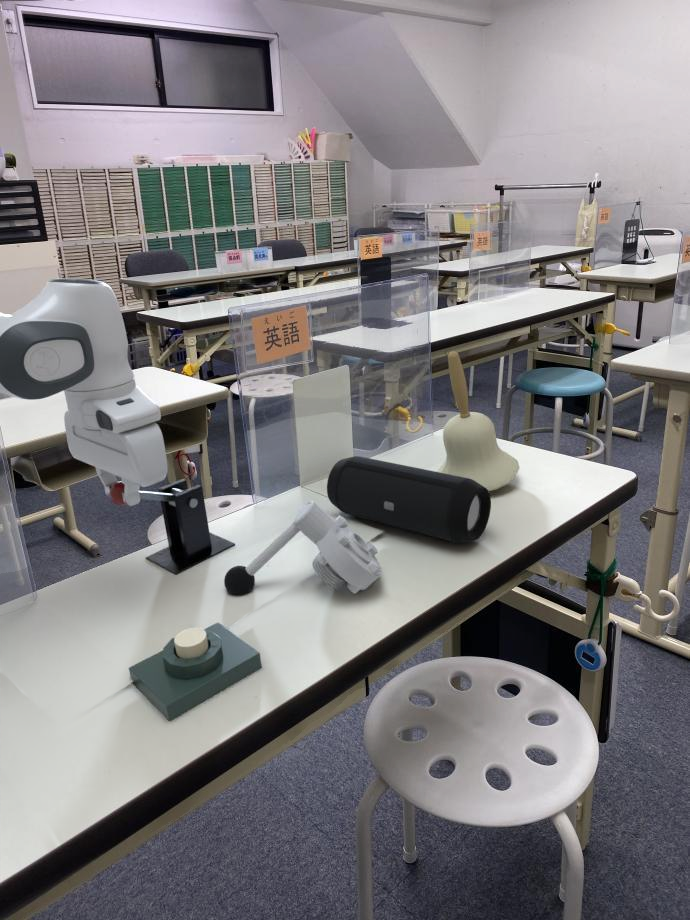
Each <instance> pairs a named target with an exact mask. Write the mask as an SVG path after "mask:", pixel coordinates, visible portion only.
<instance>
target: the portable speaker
mask: <svg viewBox="0 0 690 920" xmlns="http://www.w3.org/2000/svg"><path fill="white" fill-rule="evenodd" d="M326 494H327V497H328V500H329V502H330V503H331V504H332V505H333V506H334V507H335V508H337V509H338V510H339V511H340V512H342V513H343V514H346V515H349V516H354V517H356V518H357V517H358V518H361V519H363V520H364V519H365V520H369V521H371V522H375V523H379V524H383V525H387V526H391V527H395V528H399V529H402V530H407V531H411V532H414V533H418V534H422V535H425V536H430V537H433V538H437V539H440V540H445V541H448V542H452V543H456V544H461V543H468V542H475V541H477V540H479V539H480V538H481V537H482V535H483V534H484V532H485V531H486V528H487V526H488V524H489V520H490V515H491V509H492V498H491V493H490V491H488V490H487V489H486V488H485V487H484V486H482V485H481V484H479V483H477V482H476V481H474V480H472V479H469V478H465V477H460V476H455V475H450V474H445V473H440V472H437V471H434V470H430V469H425V468H419V467H415V466H411V465H410V466H409V465H404V464H400V463H396V462H395V463H394V462H389V461H386V460H385V461H384V460H381V459H380V460H379V459H374V458H369V457H364V456H359V455H354V456H350V457H346V458H342V459H340V460H338V461H336V463H335V464H334V465H333V467H332V468H331V470H330V472H329V474H328V477H327V483H326Z"/></svg>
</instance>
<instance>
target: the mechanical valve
mask: <svg viewBox="0 0 690 920" xmlns="http://www.w3.org/2000/svg"><path fill="white" fill-rule="evenodd" d="M299 532H301V533H302V534H303V535H304V536H305V537H306V538H307V539H309V540H310V541H311V542H312V543H313V544H314V545H315V546H316V547H317V549H318V553H317V554H316V555H315V558H313V560H312V568H313V570H314V572H315V573H316V575H317V577H318V578H319V579H320V580H321V581H322V582H323V583H324V584H325V585H326V586H328V587H329V588H331V589H334V590H338V589H339V588H341V586H343V585H344V584H345V583H346V582H347V584H346V586H347V589H348V590H349V591H350V592H351V593H353V594H355V595H356V594H357V593H359V592H360V591H365V590H366V589H367V588H369V587H370V586H371V585H372V584H373V583H374V582H375V581H376V580H378V579H379V578H380V577H381V576H382V574H383V571H382V568H381V565H380V563H379V561H378V559H377V558H376V554H378V549H377V547H376V546H375V545H374V544H373V543H371V542H366V541H365V540H364V538H362V537H361V536H360V535H359V534H358V533H356V532H354V531H353V530H352V529H351V528H350V527H349V522H348V521H347V519H346V518H345V517H344V516H342V515H340V514H339V515H338V516H337V517H335V518H334V517H333V518H332V517H331V516H330V515H329V514H328V513H327V512H326V511H325V510H324V509H323V508H322V507H320V505H318V504H317V503H316V502H315V501H314V500H310V501H308V502H306V504H305V505H304V506H303V507H301V509H299V511H298V512H297V514H296V515H295V517H294V520H293V522H292V523H291V524H290V525H289V526H288V527H287V528H285V530H284V531H282V532H281V533H280V534H279V536H277V537H276V538H275V539H274V541H272V542H271V543H270V544H269V545H268V546H267V547H265V549H264V550H262V552H260V554H259V555H257V556H256V557H255V558H254V559H253V560H252V561H251V562H250V563H249V564H248V565H247V566H245V565H235V566H233V567H231V568H230V569H228V570H227V572H226V573H225V575H224V579H223V582H224V587H225V590H226V591H227V592H228V593H229V594H230V595H233V596H243V595H247V594H248V593H250V592H251V591H252V590H254V586H255V582H256V580H255V579H256V578H255V575H256V573H258V572H259V570H261V569H262V568H263V567H264V566H266V564H267V563H268V562H270V560H271V559H272V558H273V557H274V556H276V554H278V553H279V551H281V550H282V549H283V548H284V547H285V546H286V545H287V544H288V543H289V542H290V541H291V540H292V539H293V538H294V537H295V536H296V535H297V534H299Z"/></svg>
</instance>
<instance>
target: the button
mask: <svg viewBox="0 0 690 920" xmlns="http://www.w3.org/2000/svg"><path fill="white" fill-rule="evenodd" d="M174 637H175V638H174ZM174 637H173V638H174V643H175V648H176V653H177V656H178V657H180V658H182V659H192V658H198V657H199V656H201V655H203V654H205V653H206V652H207V650H208V640H207V635H206V632H205V631H204V628H200V627H189V628H185V629H183V630H181V631H179V632H178V633H176V635H175V636H174Z"/></svg>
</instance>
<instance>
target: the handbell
mask: <svg viewBox="0 0 690 920" xmlns="http://www.w3.org/2000/svg"><path fill="white" fill-rule="evenodd" d="M447 362H448V371H449V379H450V385H451V390H452V394H453V396H454V400H455V402H456V405H457V407H458V408H457V409H458V410H459V413H458V414H456V415H455V416H453V417H451V418H450V419H448V421H447V422H446V423H445V424H444V426H443V429H442V439H443V445H444V448H445V449H444V450H445V453H446V456H445V460H444V461H443V462H442V463H441V464H440V467H438V469H437V471H436V472H440V473H445V474H450V475H455V476H460V477H465V478H469V479H472V480H474V481H476V482H477V483H479V484H481V485H482V486H484V487H485V488H486V489H487V490H488V491H489V492H492V491H495V490H497V489H500V488H502V487H505V486H506V485H508V484H509V483H511V481H513V479H516V477H517V474H518V472H519V470H520V464H519V461H518V460H517V459H516V458H515V457H514V456H512V455H511V454H509V453H508V452H507V451H505V450H502V449H501V448H500V447H499V444H498V441H497V435H496V429H495V425H494V423H493V421H492V420H491V418H490V417H489V416H487V415H485V414H483V413H481V412H476V411H469V393H468V392H469V391H468V384H467V380H466V375H465V371H464V368H463V364H462V361H461V358H460V355H459V353H458V352H457V351H455V350H451V351H450V352H449V353H448V355H447Z"/></svg>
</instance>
